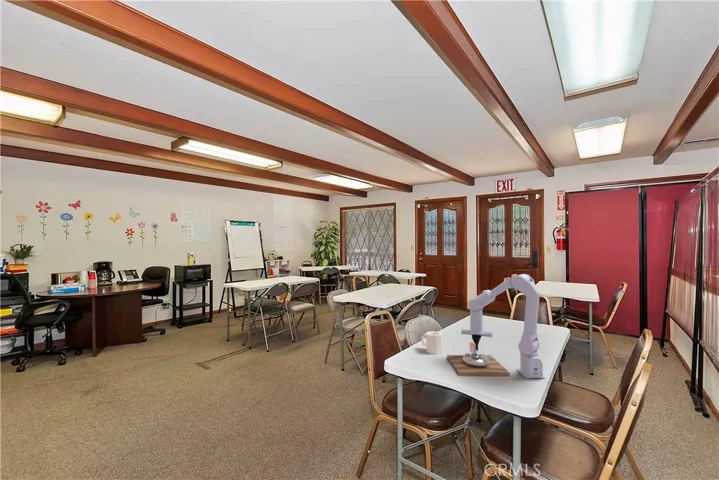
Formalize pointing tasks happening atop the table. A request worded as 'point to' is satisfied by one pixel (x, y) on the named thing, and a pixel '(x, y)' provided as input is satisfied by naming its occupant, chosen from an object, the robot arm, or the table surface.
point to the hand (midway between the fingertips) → (476, 349)
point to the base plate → (467, 370)
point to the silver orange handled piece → (475, 358)
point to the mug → (432, 342)
